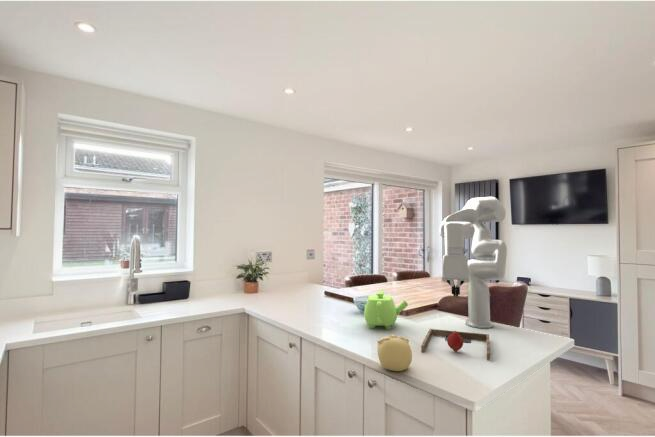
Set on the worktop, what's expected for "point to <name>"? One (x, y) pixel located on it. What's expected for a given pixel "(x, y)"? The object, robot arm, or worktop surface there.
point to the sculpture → (394, 353)
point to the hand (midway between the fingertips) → (455, 296)
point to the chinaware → (361, 302)
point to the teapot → (382, 310)
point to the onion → (455, 341)
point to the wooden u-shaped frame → (465, 335)
